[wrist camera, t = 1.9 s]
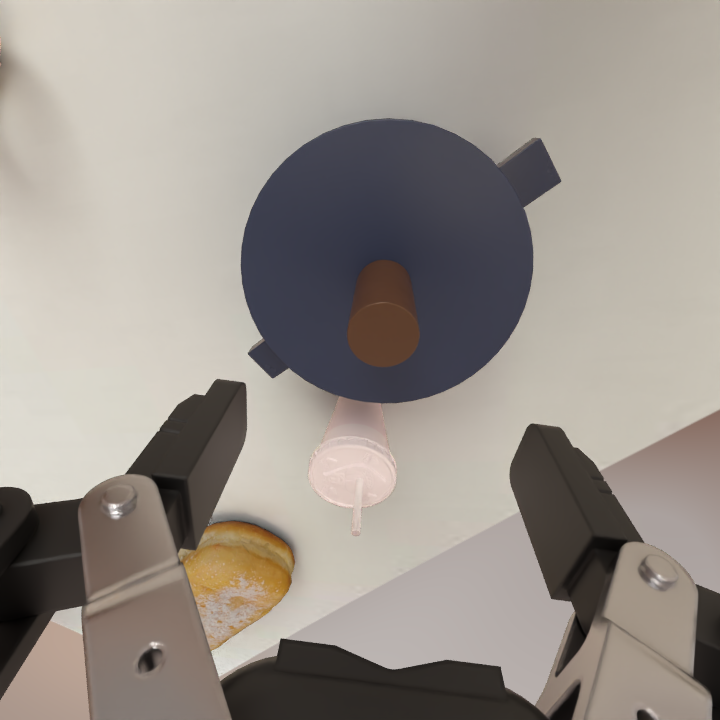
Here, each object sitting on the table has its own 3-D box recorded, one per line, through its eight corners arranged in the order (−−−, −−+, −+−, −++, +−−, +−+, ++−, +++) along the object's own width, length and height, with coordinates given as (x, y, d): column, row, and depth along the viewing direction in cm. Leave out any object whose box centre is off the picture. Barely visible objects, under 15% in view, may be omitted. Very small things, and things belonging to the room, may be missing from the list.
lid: (190, 251, 22) (114, 298, 16) (424, 33, 17) (447, -23, 11) (359, 429, 28) (351, 514, 22) (574, 307, 23) (645, 373, 17)
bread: (119, 587, 55) (81, 653, 48) (218, 491, 44) (186, 558, 37) (204, 626, 58) (179, 692, 52) (313, 546, 48) (301, 616, 41)
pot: (220, 246, 30) (167, 284, 23) (449, 40, 23) (479, -1, 16) (341, 379, 36) (329, 443, 28) (556, 242, 29) (615, 281, 21)
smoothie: (392, 428, 38) (395, 567, 26) (325, 424, 38) (297, 561, 26) (396, 371, 35) (402, 499, 23) (323, 367, 35) (291, 493, 23)
